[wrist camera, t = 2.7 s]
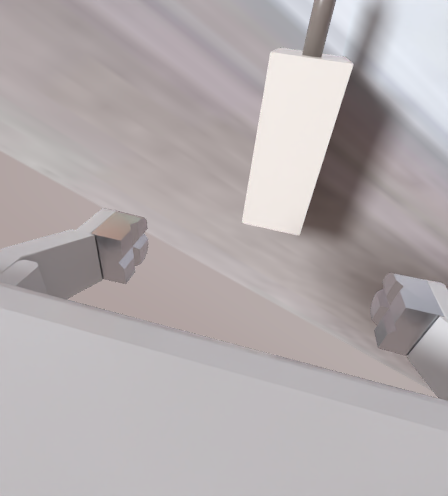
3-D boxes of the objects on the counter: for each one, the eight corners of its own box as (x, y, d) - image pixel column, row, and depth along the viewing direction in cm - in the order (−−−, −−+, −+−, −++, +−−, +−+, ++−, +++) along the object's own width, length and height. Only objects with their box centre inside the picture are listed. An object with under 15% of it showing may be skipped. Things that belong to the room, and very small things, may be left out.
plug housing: (376, -47, 15) (396, -73, 12) (302, 202, 24) (299, 235, 20) (298, -54, 16) (293, -82, 12) (253, 192, 25) (241, 222, 21)
